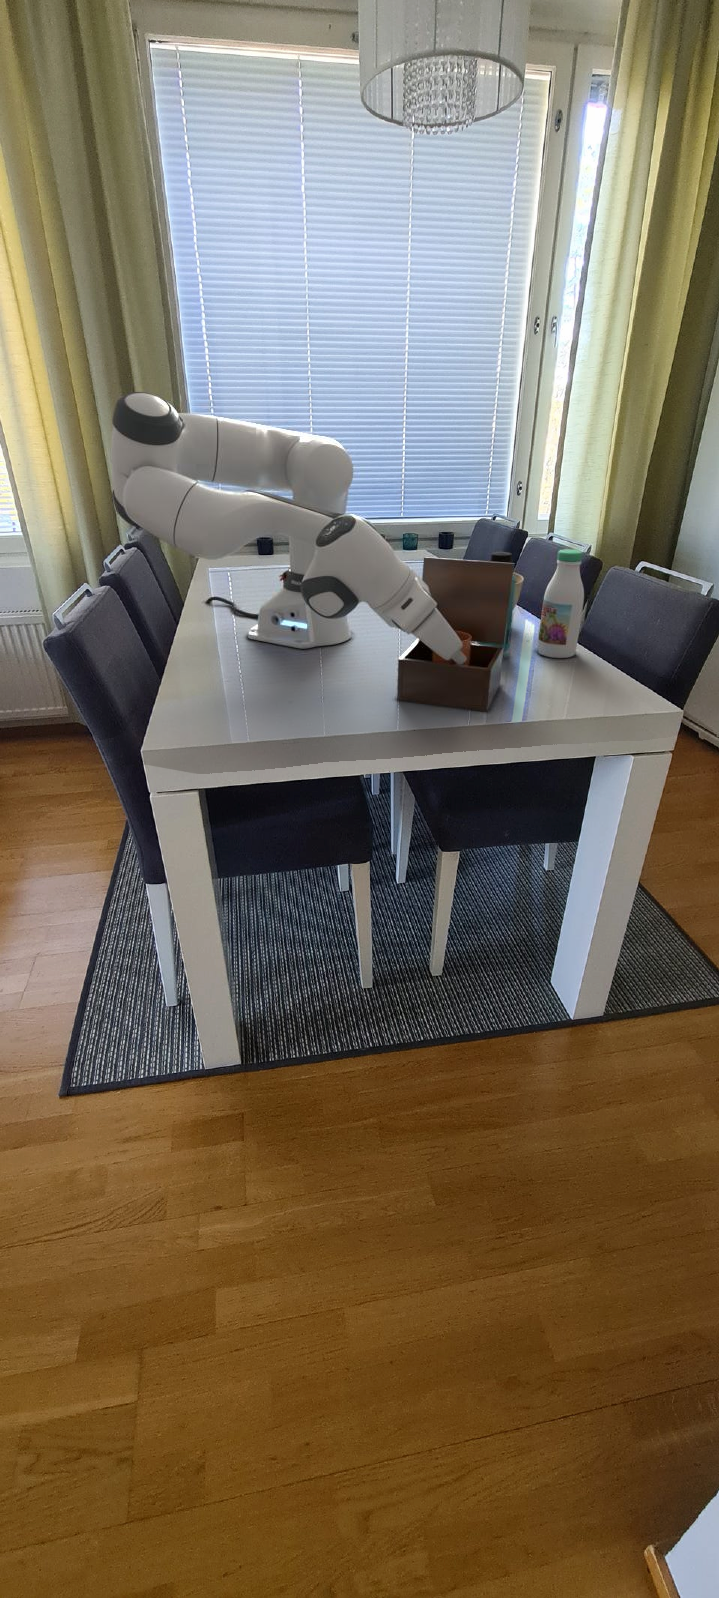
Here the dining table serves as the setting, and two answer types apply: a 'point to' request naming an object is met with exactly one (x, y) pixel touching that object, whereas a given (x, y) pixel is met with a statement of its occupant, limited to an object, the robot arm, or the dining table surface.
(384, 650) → the dining table surface
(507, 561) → the beverage bottle
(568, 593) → the milk bottle
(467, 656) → the cup
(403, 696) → the box
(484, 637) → the lid
